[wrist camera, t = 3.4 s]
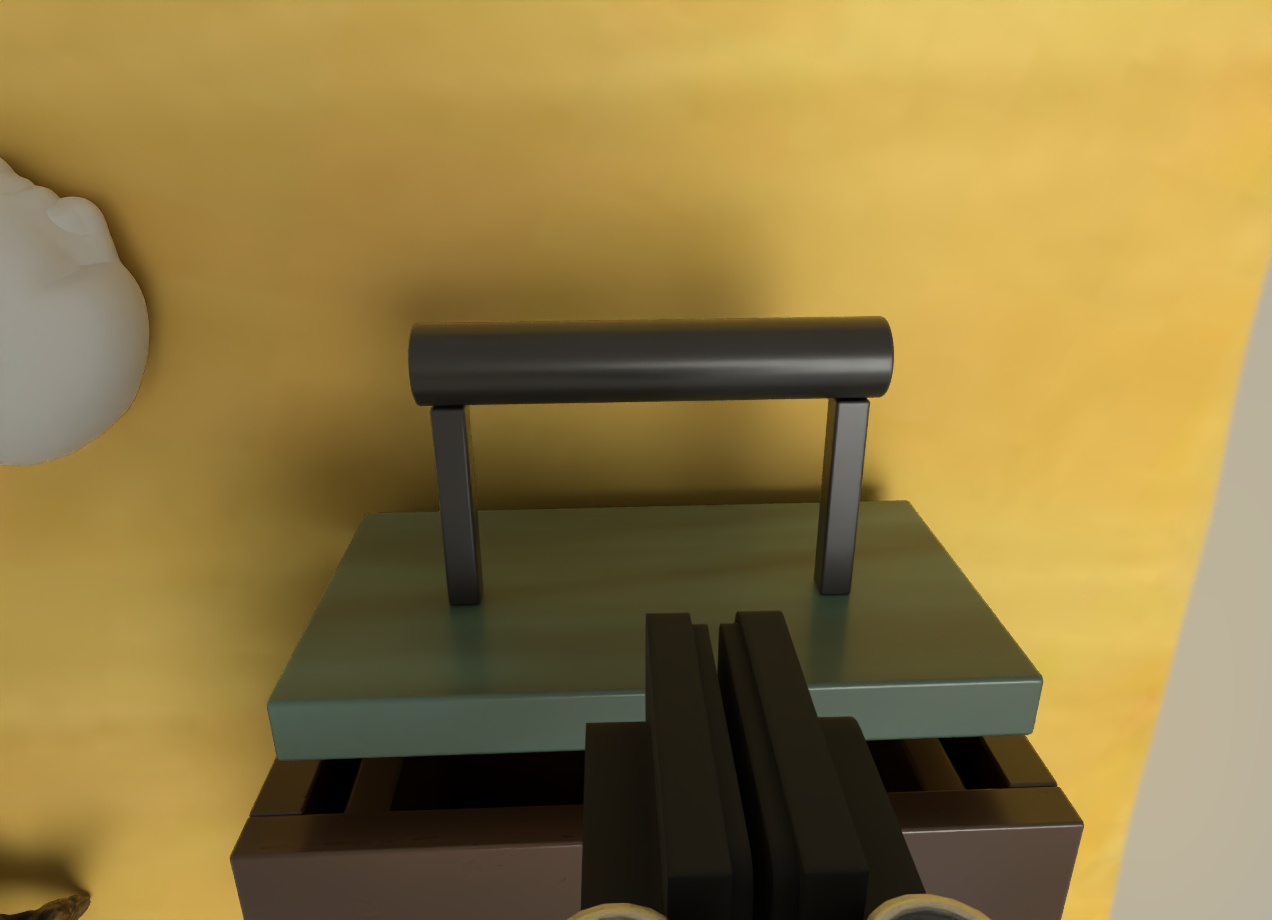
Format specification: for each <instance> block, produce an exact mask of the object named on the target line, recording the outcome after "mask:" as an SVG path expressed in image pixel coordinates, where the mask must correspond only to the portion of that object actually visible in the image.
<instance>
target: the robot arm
mask: <svg viewBox="0 0 1272 920" xmlns="http://www.w3.org/2000/svg"><path fill="white" fill-rule="evenodd" d="M567 920H991V919H990V918H988V917H987V916H986V915H984V914H983V913H982V912H980V911H979V910H976V909H974V908H972V907H970V906H968V905H966V904H964V903H962V902H959V901H957V900H955V899H951V898H946V897H942V896H937V895H933V894H926V891H925V889H924V886H923V884H922V881H921V879H920V876H919V873H918V871H917V868H916V866H915V863H914V861H913V858H912V856H911V853H910V851H909V848H908V846H907V843H906V841H905V838H904V836H903V833H902V831H901V828H900V826H899V823H898V821H897V818H896V816H895V813H894V811H893V808H892V805H891V803H890V800H889V798H888V795H887V793H886V790H885V788H884V785H883V783H882V780H881V778H880V775H879V773H878V770H877V768H876V765H875V763H874V760H873V758H872V755H871V753H870V750H869V748H868V745H867V742H866V740H865V737H864V735H863V732H862V730H861V728H860V726H859V724H858V722H857V720H856V719H855V718H853V717H852V716H843V717H818V716H817V713H816V710H815V707H814V704H813V701H812V698H811V695H810V692H809V689H808V686H807V683H806V680H805V677H804V674H803V671H802V668H801V666H800V663H799V660H798V657H797V654H796V651H795V648H794V645H793V642H792V639H791V636H790V633H789V630H788V627H787V624H786V621H785V618H784V615H783V613H782V611H780V610H779V611H737V612H736V615H735V622H734V623H721V624H720V626H719V639H718V665H717V671H716V666H715V661H714V655H713V650H712V645H711V640H710V634H709V629H708V625H707V624H692V622H691V616H690V613H689V612H684V613H646V621H645V721H639V722H599V723H586V735H585V771H584V808H583V844H582V881H581V911H579V912H578V913H576V914H575V915H573V916H572V917H570V918H569V919H567Z"/></svg>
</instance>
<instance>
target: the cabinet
mask: <svg viewBox="0 0 1272 920" xmlns="http://www.w3.org/2000/svg"><path fill="white" fill-rule="evenodd" d="M939 740H940V741H941V743H942V745H943V747H944V749H945V751H946V753H947V755H948V756H949V758H950V760H951V762H952V764H953V766H954V768H955V770H956V771H957V773H958V775H959V777H960V779H961V781H962V783H963V785H964V786H965V788H966V790H943V791H917V792H890V793H887V795H888V798H889V800H890V803H891V805H892V808H893V811H894V813H895V816H896V818H897V821H898V823H899V826H900V828H901V831H902V833H903V836H904V838H905V841H906V843H907V846H908V848H909V851H910V853H911V856H912V858H913V861H914V863H915V866H916V868H917V871H918V873H919V876H920V879H921V881H922V884H923V886H924V889H925V891H926V894H933V895H937V896H942V897H946V898H951V899H955V900H957V901H959V902H962V903H964V904H966V905H968V906H970V907H972V908H974V909H976V910H979V911H980V912H982V913H983V914H984V915H986V916H987V917H988V918H990V919H991V920H1061V917H1062V913H1063V909H1064V905H1065V901H1066V897H1067V893H1068V889H1069V885H1070V881H1071V877H1072V872H1073V868H1074V864H1075V860H1076V856H1077V852H1078V848H1079V844H1080V840H1081V836H1082V832H1083V828H1084V823H1083V821H1082V819H1081V818H1080V816H1079V815H1078V813H1077V812H1076V810H1075V809H1074V807H1073V806H1072V804H1071V803H1070V801H1069V800H1068V798H1067V797H1066V795H1065V794H1064V792H1063V791H1062V789H1061V788H1060V787H1057V783H1056V781H1055V779H1054V778H1053V776H1052V775H1051V773H1050V772H1049V770H1048V769H1047V767H1046V766H1045V764H1044V763H1043V761H1042V760H1041V758H1040V757H1039V755H1038V754H1037V752H1036V751H1035V749H1034V748H1033V746H1032V745H1031V743H1030V742H1029V740H1028V739H1027V737H1026V736H1025V735H1007V736H979V737H950V738H939ZM361 760H362V758H354V759H325V760H297V761H280V760H278V758H277V756H276V758H275V760H274V763H273V765H272V767H271V769H270V771H269V773H268V775H267V778H266V780H265V782H264V784H263V786H262V788H261V790H260V793H259V795H258V797H257V799H256V801H255V803H254V806H253V808H252V810H251V812H250V815H249V816H250V817H249V818H248V819H247V821H246V823H245V825H244V828H243V830H242V832H241V834H240V836H239V838H238V840H237V843H236V845H235V847H234V849H233V851H232V853H231V856H230V862H231V866H232V870H233V875H234V879H235V883H236V887H237V892H238V896H239V900H240V904H241V909H242V913H243V917H244V920H567V919H569V918H570V917H572V916H573V915H575V914H576V913H578V912H579V911H581V881H582V844H583V808H584V804H572V805H546V806H519V807H493V808H466V809H440V810H413V811H387V812H360V813H344V811H345V808H346V805H347V802H348V799H349V796H350V793H351V790H352V787H353V784H354V781H355V778H356V775H357V772H358V769H359V766H360V763H361Z"/></svg>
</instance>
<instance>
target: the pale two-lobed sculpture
mask: <svg viewBox="0 0 1272 920" xmlns="http://www.w3.org/2000/svg"><path fill="white" fill-rule="evenodd" d="M149 338H150V332H149V318H148V312H147V307H146V303H145V299H144V296H143V293H142V291H141V289H140V287H139V285H138V284H137V282H136V280H135V279H134V277H133V276H132V275H131V273H130V272H129V271H128V270H127V269H126V267H125V266H124V265H123V264H122V263H121V262H120V259H119V256H118V254H117V251H116V248H115V245H114V242H113V239H112V237H111V235H110V232H109V229H108V226H107V223H106V220H105V218H104V216H103V214H102V212H101V211H100V210H99V208H98V207H97V206H96V205H95V204H93V203H92V202H91V201H89V200H87V199H85V198H81V197H73V196H72V197H64V198H59V197H58V195H57V194H56V193H54V192H53V191H52V190H50V189H48V188H46V187H42V186H35V185H34V184H33V183H32V182H31V181H30V180H28V179H26V178H23V177H20V176H18V175H17V174H16V173H15V172H14V171H13V169H12V168H11V167H10V166H9V165H8V164H7V163H6V162H5V161H4V160H3V159H2V158H0V465H12V466H20V465H33V464H40V463H45V462H48V461H52V460H56V459H58V458H61V457H64V456H66V455H69V454H71V453H72V452H74V451H76V450H78V449H80V448H82V447H84V446H85V445H87V444H88V443H90V442H92V441H93V440H94V439H96V438H97V437H99V436H100V435H101V434H102V433H104V432H105V431H106V430H107V429H109V428H110V427H111V426H112V425H113V424H114V423H115V422H117V420H118V419H119V418H120V417H121V416H122V415H123V414H124V413H125V412H126V411H127V409H128V408H129V407H130V405H131V404H132V402H133V401H134V399H135V397H136V394H137V392H138V389H139V387H140V384H141V380H142V377H143V374H144V370H145V367H146V363H147V358H148V352H149Z"/></svg>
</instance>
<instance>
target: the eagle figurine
mask: <svg viewBox="0 0 1272 920" xmlns="http://www.w3.org/2000/svg"><path fill="white" fill-rule="evenodd" d="M90 902H91V901H90V898H89V897H88V896H86V897H81V896H78V895H73V896H71V897H69V898H62V899H57V900H55V901H52V902H49V903H47V904H45V905H43V906H42V907H41V908H39V909H37V910H29V911H26V912H22V913H18V914H14V915H6V914H0V920H78V919H79V918H80V917H81V916H82V915H83V913H84V912H85V911H86V910H87V909H88V907H89V905H90Z"/></svg>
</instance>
